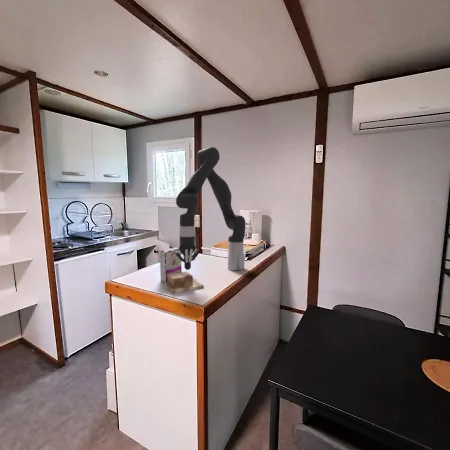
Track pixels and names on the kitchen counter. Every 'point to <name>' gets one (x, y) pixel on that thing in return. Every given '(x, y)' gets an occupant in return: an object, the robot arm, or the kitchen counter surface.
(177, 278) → the walnut block
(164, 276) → the candy bar box
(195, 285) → the birch board
